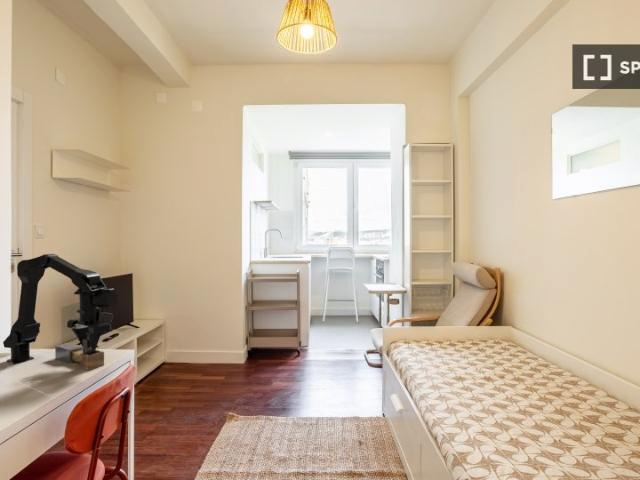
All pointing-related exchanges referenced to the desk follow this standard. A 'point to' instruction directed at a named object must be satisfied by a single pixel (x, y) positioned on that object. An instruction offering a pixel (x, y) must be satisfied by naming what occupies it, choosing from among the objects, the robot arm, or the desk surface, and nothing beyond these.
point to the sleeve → (66, 351)
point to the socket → (92, 360)
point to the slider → (86, 350)
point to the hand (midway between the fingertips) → (89, 347)
